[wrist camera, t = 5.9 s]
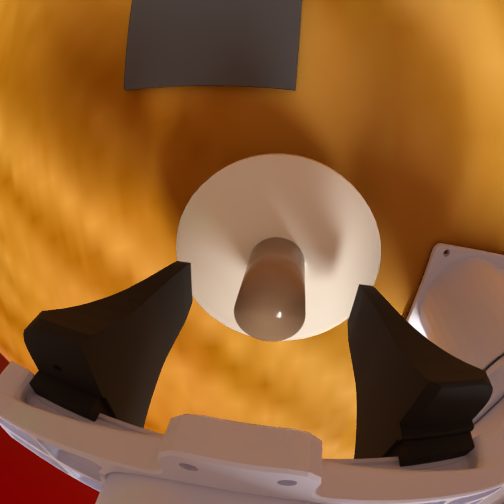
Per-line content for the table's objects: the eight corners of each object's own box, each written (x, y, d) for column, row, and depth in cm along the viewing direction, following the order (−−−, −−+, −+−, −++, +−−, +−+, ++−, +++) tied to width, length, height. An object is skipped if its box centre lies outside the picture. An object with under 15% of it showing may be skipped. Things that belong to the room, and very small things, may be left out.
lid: (392, 165, 12) (435, 194, 8) (355, 336, 17) (365, 400, 12) (175, 151, 13) (123, 173, 9) (189, 320, 18) (162, 379, 14)
